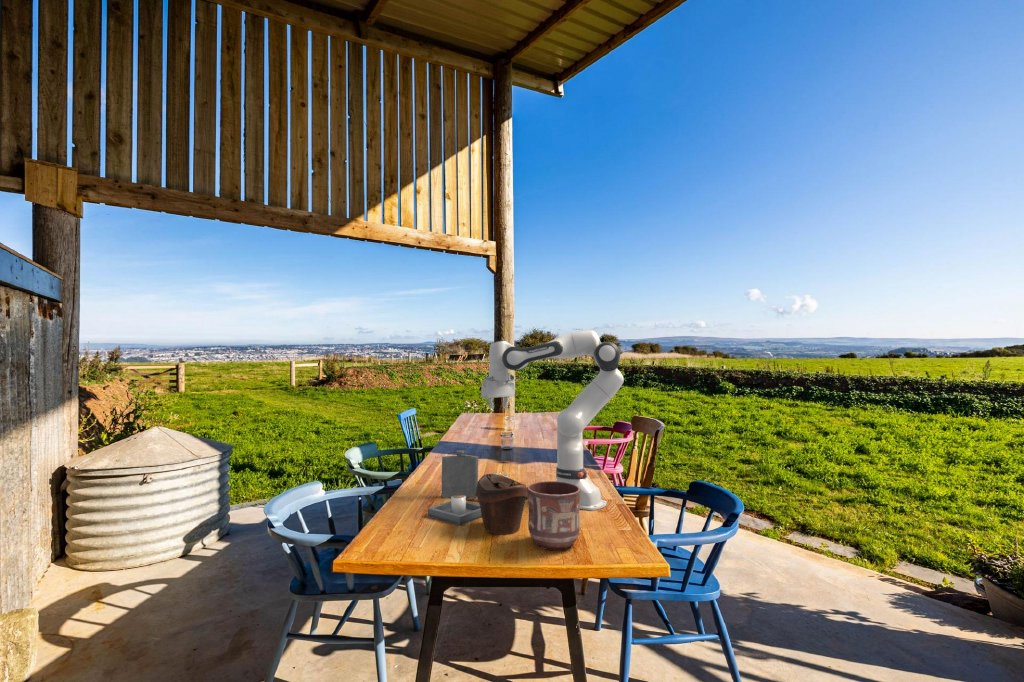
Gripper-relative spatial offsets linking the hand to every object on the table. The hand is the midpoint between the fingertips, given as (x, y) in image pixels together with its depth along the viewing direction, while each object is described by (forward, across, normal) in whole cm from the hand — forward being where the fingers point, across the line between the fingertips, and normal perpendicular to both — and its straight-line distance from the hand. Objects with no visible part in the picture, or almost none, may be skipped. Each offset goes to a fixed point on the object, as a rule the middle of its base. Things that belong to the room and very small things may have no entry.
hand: (498, 407), depth 214 cm
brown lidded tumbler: (+39, -33, -29) cm, 59 cm away
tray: (+39, -32, -6) cm, 51 cm away
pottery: (+39, -34, -51) cm, 73 cm away
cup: (+38, -32, -6) cm, 50 cm away
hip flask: (+39, -12, +12) cm, 43 cm away
